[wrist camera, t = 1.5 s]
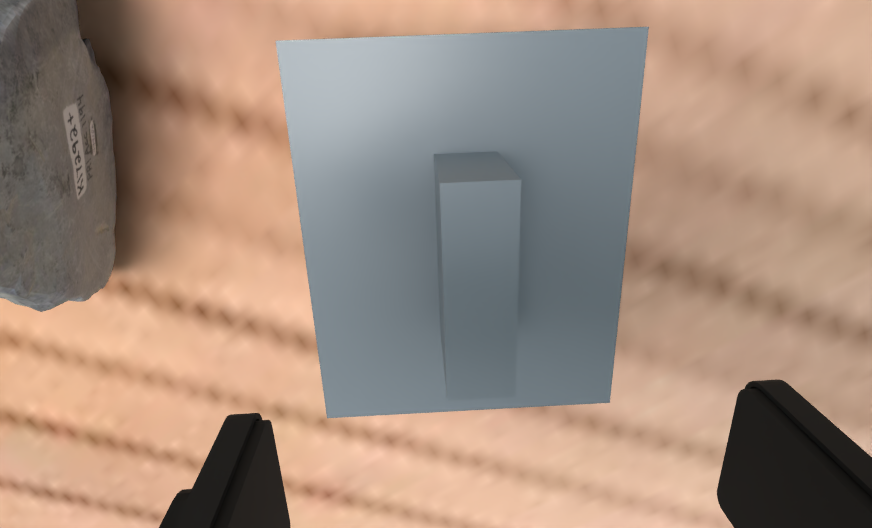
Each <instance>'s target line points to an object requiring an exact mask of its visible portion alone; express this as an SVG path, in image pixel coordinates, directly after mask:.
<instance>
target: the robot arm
mask: <svg viewBox="0 0 872 528" xmlns="http://www.w3.org/2000/svg"><path fill="white" fill-rule="evenodd" d="M717 497H718V501H719V504H720V507H721V509H722V510H723V512H724V513H725V515H726V516H727V518H728V519H729V521H730V522H731V524H732V525H733V526H734V528H872V457H871V456H869V455H868V454H867V453H866V452H865V451H864V450H863V449H861V448H860V447H859V446H858V445H857V444H856V443H855V442H853V441H852V440H851V439H850V438H849V437H848V436H847V435H845V434H844V433H843V432H842V431H841V430H840V429H839V428H837V427H836V426H835V425H834V424H833V423H832V422H831V421H829V420H828V419H827V418H826V417H825V416H824V415H823V414H822V413H820V412H819V411H818V410H817V409H816V408H815V407H814V406H812V405H811V404H810V403H809V402H808V401H807V400H806V399H804V398H803V397H802V396H801V395H800V394H799V393H798V392H796V391H795V390H794V389H793V388H792V387H791V386H790V385H788V384H787V383H786V382H784V381H783V380H764V381H752V382H749V383H748V384H747V385H746V387H745V389H743V390H741V391H740V392H739V394H738V397H737V401H736V406H735V411H734V415H733V420H732V424H731V429H730V433H729V438H728V443H727V447H726V452H725V456H724V461H723V466H722V470H721V475H720V479H719V484H718V489H717ZM159 528H290V519H289V513H288V508H287V503H286V497H285V492H284V487H283V481H282V476H281V471H280V466H279V460H278V455H277V450H276V444H275V439H274V434H273V428H272V424H271V422H270V420H262V417H261V415H260V414H259V413H250V414H234V415H229V416H227V418H226V419H225V421H224V423H223V425H222V427H221V430H220V432H219V434H218V436H217V438H216V440H215V442H214V444H213V446H212V448H211V450H210V453H209V455H208V457H207V459H206V461H205V463H204V465H203V467H202V469H201V471H200V473H199V475H198V478H197V480H196V482H195V484H194V486H193V488H192V489H186V490H181V491H180V492H179V493H177V495H176V496H175V498H174V500H173V501H172V503H171V505H170V507H169V509H168V511H167V513H166V515H165V517H164V519H163V521H162V523H161V525H160V527H159Z"/></svg>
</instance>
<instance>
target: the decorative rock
mask: <svg viewBox="0 0 872 528" xmlns="http://www.w3.org/2000/svg"><path fill="white" fill-rule="evenodd" d="M116 198H117V195H116V172H115V157H114V153H113V139H112V112H111V105H110V97H109V91H108V88H107V85H106V82H105V80H104V77H103V75H102V74H101V72H100V68H99V67H98V66H97V65H96V61H95V55H94V51H93V49H92V46H91V43H90V41H89V39H81V36H80V29H79V21H78V6H77V2H76V0H0V298H4V299H7V300H9V301H11V302H13V303H15V304H18V305H22V306H27V307H30V308H33V309H35V310H37V311H40V312H42V311H46V310H49V309H52V308H54V307H56V306H58V305H60V304H62V303H64V302H66V301H68V300H69V301H78V302H79V301H86V300H88V299H89V298H90V297H91V296H92V295H93V294H94V293H96V292H98V291H99V289H101V288H104V286H105V285H106V283H107V282H108V279H109V277H110V275H111V272H112V269H113V265H114V260H115V254H116V248H115V234H114V228H115V222H116Z"/></svg>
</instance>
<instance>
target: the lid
mask: <svg viewBox="0 0 872 528" xmlns="http://www.w3.org/2000/svg"><path fill="white" fill-rule="evenodd" d="M648 28H649V27H630V28H604V29H577V30H551V31H524V32H497V33H471V34H444V35H418V36H391V37H365V38H338V39H312V40H285V41H276V47H277V54H278V62H279V69H280V76H281V83H282V91H283V98H284V105H285V113H286V120H287V127H288V135H289V142H290V149H291V157H292V164H293V171H294V179H295V186H296V193H297V201H298V208H299V215H300V223H301V230H302V237H303V245H304V252H305V259H306V267H307V274H308V281H309V289H310V296H311V303H312V310H313V318H314V325H315V332H316V340H317V347H318V354H319V362H320V369H321V376H322V384H323V391H324V398H325V406H326V413H327V418H338V417H356V416H374V415H393V414H411V413H429V412H448V411H466V410H484V409H502V408H521V407H539V406H557V405H575V404H594V403H610V395H611V385H612V375H613V366H614V356H615V346H616V337H617V327H618V318H619V308H620V298H621V289H622V279H623V269H624V260H625V250H626V240H627V231H628V221H629V212H630V202H631V192H632V183H633V173H634V163H635V154H636V144H637V134H638V125H639V115H640V106H641V96H642V86H643V77H644V67H645V57H646V48H647V38H648Z"/></svg>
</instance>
